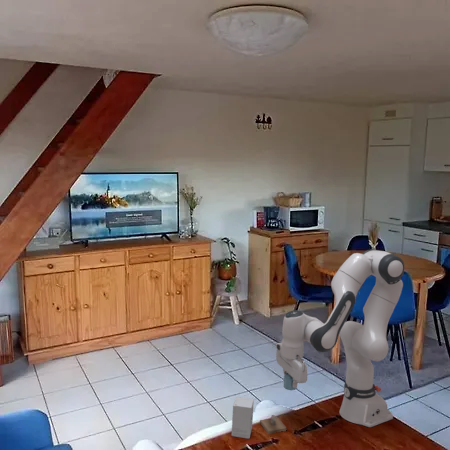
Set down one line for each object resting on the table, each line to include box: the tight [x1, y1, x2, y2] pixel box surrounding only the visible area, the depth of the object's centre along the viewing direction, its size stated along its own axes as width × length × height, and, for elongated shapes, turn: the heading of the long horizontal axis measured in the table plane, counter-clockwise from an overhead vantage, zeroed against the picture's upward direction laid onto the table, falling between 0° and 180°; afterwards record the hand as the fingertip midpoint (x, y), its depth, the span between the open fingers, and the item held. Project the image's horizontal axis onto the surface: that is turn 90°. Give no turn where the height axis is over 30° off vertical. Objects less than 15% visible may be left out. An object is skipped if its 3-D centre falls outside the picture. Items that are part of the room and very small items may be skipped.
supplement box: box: [231, 396, 255, 439], centre depth 176 cm, size 7×7×13 cm
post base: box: [259, 414, 288, 435], centre depth 181 cm, size 8×8×4 cm
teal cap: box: [283, 373, 297, 391], centre depth 183 cm, size 5×5×5 cm
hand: (290, 383), depth 183 cm, fingers closed on teal cap, 5 cm apart
